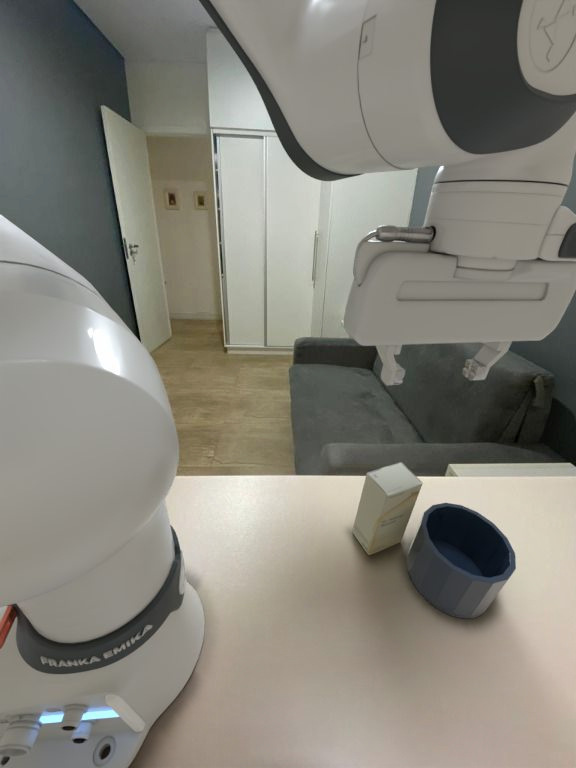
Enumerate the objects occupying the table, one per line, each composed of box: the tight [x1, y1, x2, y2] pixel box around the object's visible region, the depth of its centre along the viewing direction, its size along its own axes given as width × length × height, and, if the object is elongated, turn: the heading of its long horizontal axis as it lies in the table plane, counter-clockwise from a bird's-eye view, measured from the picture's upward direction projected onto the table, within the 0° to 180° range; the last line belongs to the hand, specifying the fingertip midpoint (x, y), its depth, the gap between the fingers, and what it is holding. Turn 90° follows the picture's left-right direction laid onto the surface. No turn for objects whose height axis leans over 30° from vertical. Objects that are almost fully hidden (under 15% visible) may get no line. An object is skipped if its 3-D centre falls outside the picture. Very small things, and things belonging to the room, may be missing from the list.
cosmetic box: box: [352, 461, 424, 556], centre depth 43 cm, size 6×4×12 cm
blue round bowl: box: [406, 502, 517, 619], centre depth 40 cm, size 10×10×8 cm
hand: (432, 380), depth 32 cm, fingers open, 8 cm apart
